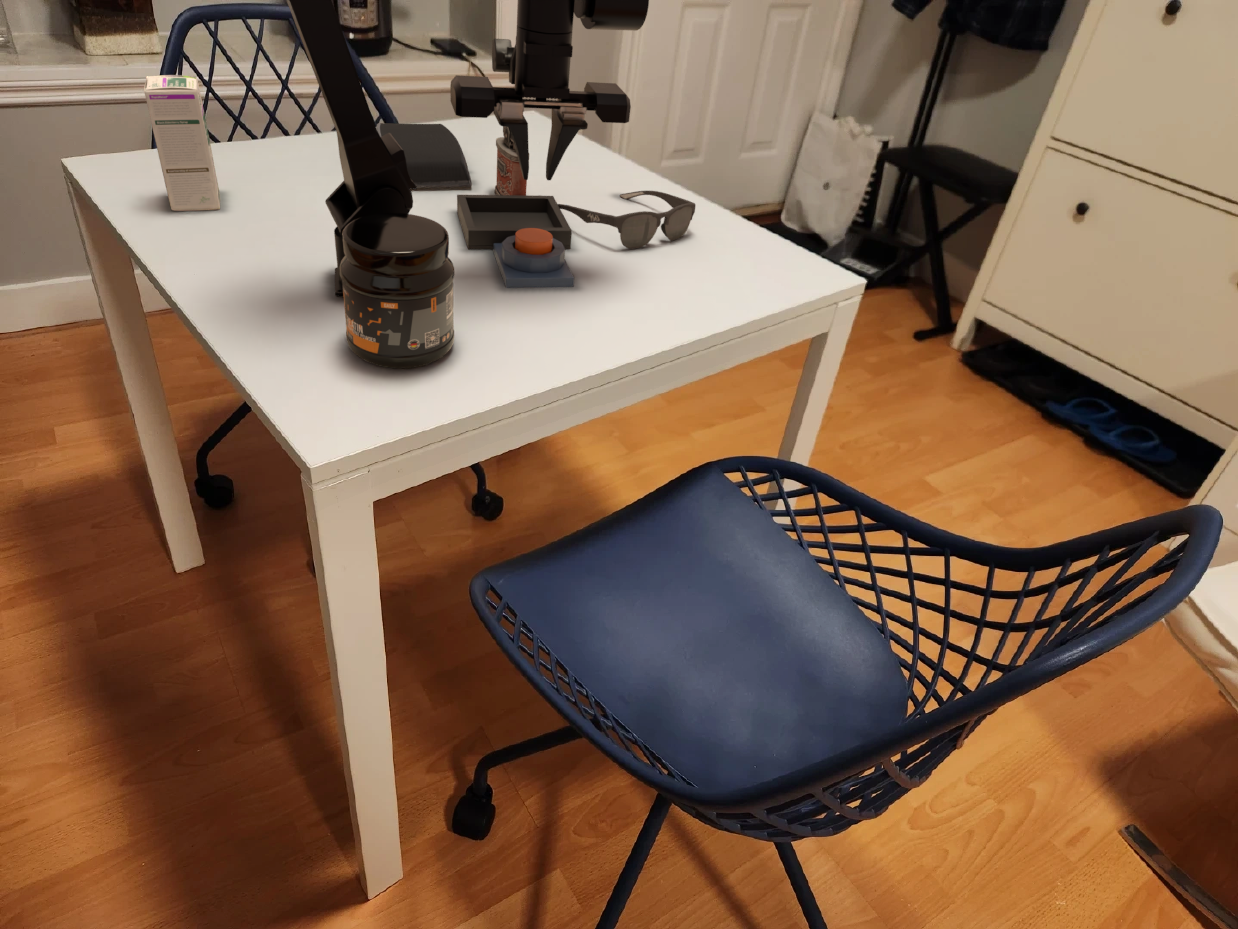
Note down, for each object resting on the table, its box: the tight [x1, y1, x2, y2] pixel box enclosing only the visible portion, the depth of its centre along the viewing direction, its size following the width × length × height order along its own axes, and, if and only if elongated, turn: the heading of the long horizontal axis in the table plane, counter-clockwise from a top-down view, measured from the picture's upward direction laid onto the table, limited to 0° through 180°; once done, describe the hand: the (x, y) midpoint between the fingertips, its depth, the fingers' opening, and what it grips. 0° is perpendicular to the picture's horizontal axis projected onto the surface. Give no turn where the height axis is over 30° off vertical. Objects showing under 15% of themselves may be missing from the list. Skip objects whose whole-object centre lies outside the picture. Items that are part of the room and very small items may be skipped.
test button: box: [515, 228, 553, 255], centre depth 102 cm, size 4×4×2 cm
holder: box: [456, 194, 573, 250], centre depth 112 cm, size 12×13×2 cm
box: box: [492, 235, 575, 289], centre depth 103 cm, size 10×8×3 cm
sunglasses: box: [557, 190, 696, 250], centre depth 118 cm, size 16×17×5 cm
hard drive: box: [376, 122, 473, 188], centre depth 127 cm, size 13×19×4 cm
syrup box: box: [143, 74, 221, 212], centre depth 105 cm, size 6×6×14 cm
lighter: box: [494, 126, 528, 195], centre depth 118 cm, size 8×3×10 cm, turn 25°
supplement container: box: [340, 213, 456, 369], centre depth 83 cm, size 10×10×12 cm
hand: (536, 178), depth 98 cm, fingers closed
